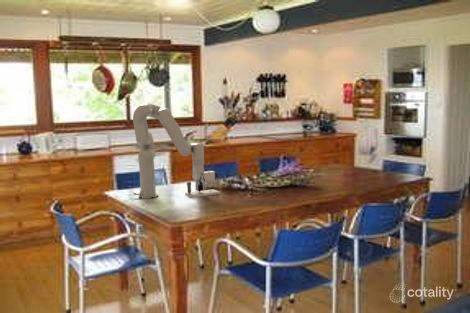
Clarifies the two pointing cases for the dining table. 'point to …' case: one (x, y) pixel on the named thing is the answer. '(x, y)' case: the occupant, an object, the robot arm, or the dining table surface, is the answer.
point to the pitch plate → (199, 194)
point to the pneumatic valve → (210, 178)
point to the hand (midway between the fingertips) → (199, 190)
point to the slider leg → (197, 185)
